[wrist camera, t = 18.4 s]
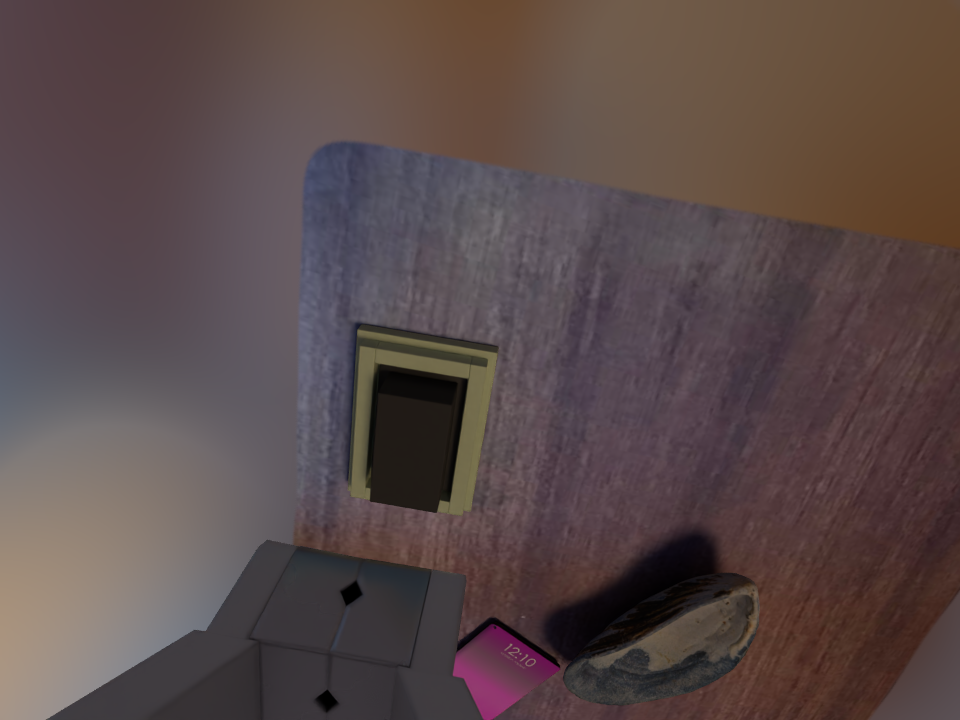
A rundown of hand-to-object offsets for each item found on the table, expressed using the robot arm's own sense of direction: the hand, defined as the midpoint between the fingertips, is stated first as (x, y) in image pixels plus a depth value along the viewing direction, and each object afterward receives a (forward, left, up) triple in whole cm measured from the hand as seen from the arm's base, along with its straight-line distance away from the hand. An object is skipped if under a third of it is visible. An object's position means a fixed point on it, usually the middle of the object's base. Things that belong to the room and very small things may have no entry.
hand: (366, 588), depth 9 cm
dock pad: (+12, +7, -27) cm, 30 cm away
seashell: (+9, +30, -27) cm, 42 cm away
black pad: (+12, +7, -26) cm, 29 cm away
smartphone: (+26, +29, -27) cm, 47 cm away
